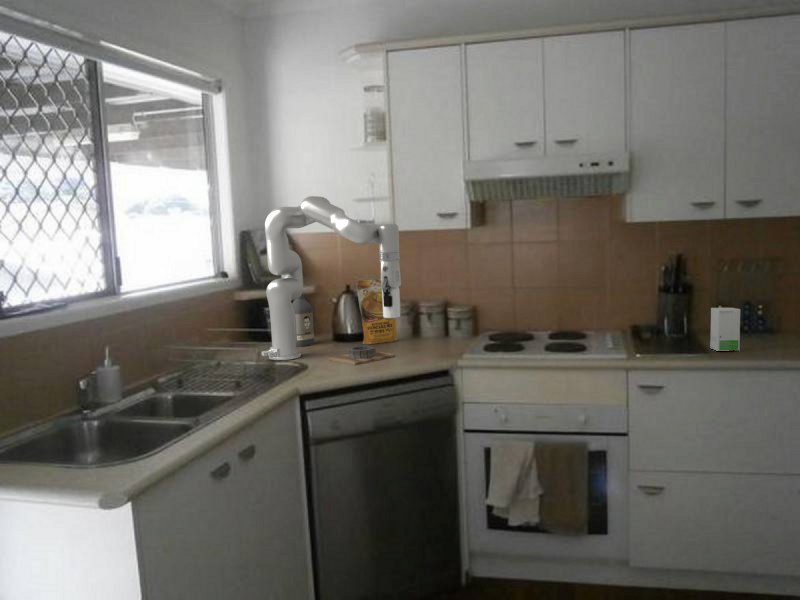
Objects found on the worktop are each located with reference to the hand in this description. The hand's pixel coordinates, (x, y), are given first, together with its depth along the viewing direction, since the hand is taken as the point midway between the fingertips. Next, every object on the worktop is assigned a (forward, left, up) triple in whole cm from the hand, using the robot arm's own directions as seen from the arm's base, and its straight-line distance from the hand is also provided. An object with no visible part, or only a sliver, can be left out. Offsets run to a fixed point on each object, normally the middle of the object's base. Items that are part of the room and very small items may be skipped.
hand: (391, 305), depth 253 cm
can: (0, 0, -5) cm, 5 cm away
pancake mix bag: (+23, +36, -22) cm, 48 cm away
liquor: (-1, +60, -21) cm, 64 cm away
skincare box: (+86, -86, -22) cm, 123 cm away
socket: (-4, +14, -21) cm, 26 cm away
